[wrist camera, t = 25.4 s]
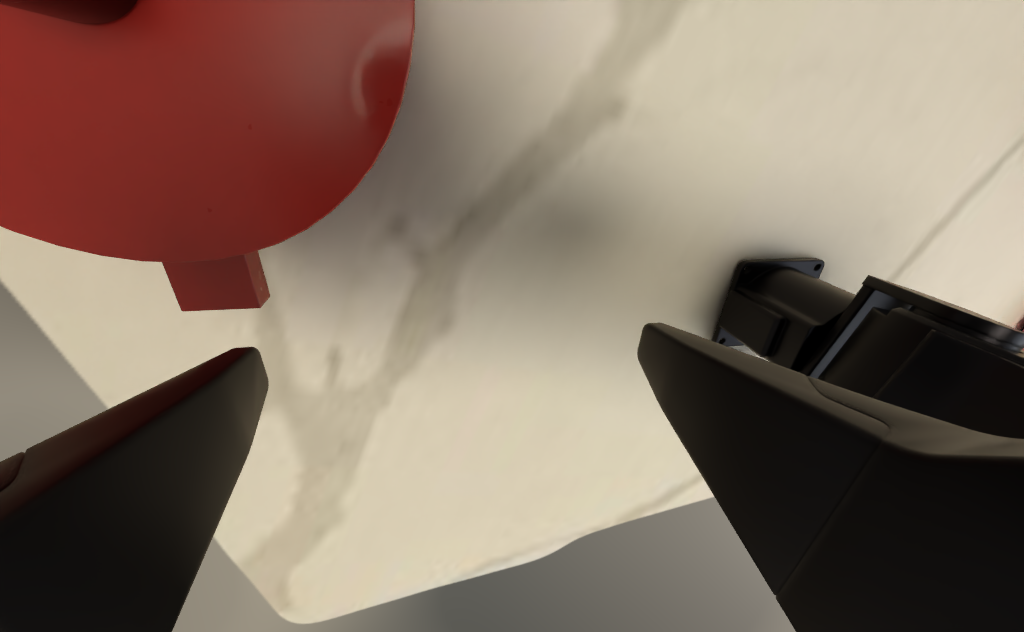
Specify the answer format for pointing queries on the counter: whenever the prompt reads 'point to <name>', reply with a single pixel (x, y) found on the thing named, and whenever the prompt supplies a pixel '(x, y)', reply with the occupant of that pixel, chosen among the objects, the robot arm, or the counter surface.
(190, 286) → the pot
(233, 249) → the lid
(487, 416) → the counter surface
